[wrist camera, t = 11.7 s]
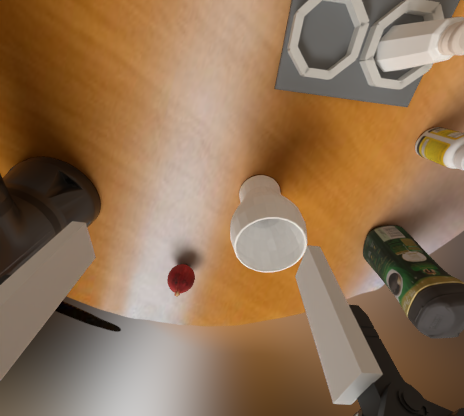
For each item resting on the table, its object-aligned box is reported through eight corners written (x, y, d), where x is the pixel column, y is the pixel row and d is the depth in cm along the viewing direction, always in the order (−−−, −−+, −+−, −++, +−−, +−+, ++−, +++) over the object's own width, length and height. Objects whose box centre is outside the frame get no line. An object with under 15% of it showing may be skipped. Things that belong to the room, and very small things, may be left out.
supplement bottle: (422, 161, 38) (466, 181, 30) (408, 143, 36) (451, 160, 29) (451, 139, 36) (506, 156, 28) (438, 120, 34) (492, 131, 27)
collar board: (274, 88, 32) (277, 89, 30) (298, -37, 25) (304, -47, 24) (403, 106, 33) (414, 108, 31) (459, -10, 26) (477, -17, 24)
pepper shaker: (399, 78, 31) (472, 79, 21) (365, 65, 30) (424, 61, 20) (427, 31, 28) (525, 7, 18) (390, 15, 27) (472, -17, 18)
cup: (234, 164, 38) (234, 208, 25) (294, 170, 39) (323, 217, 26) (229, 214, 44) (226, 272, 31) (281, 219, 44) (299, 278, 31)
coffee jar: (395, 256, 49) (471, 342, 33) (358, 259, 50) (416, 345, 34) (407, 220, 44) (504, 302, 28) (366, 224, 45) (438, 307, 29)
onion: (169, 257, 50) (159, 286, 43) (194, 256, 50) (187, 284, 43) (175, 274, 53) (166, 304, 46) (198, 273, 53) (193, 303, 46)
